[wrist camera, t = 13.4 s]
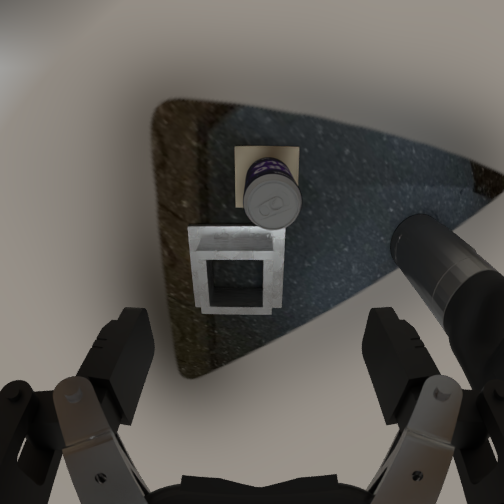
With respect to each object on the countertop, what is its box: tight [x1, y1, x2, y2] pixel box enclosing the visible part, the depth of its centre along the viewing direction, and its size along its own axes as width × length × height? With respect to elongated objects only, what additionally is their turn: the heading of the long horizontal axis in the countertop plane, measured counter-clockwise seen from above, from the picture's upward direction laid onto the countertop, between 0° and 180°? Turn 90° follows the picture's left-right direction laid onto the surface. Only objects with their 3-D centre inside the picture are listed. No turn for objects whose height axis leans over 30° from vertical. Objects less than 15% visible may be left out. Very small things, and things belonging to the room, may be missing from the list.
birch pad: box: [235, 146, 299, 207], centre depth 40 cm, size 8×8×1 cm
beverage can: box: [243, 157, 302, 231], centre depth 35 cm, size 6×6×12 cm
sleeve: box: [188, 224, 285, 315], centre depth 44 cm, size 13×13×5 cm
